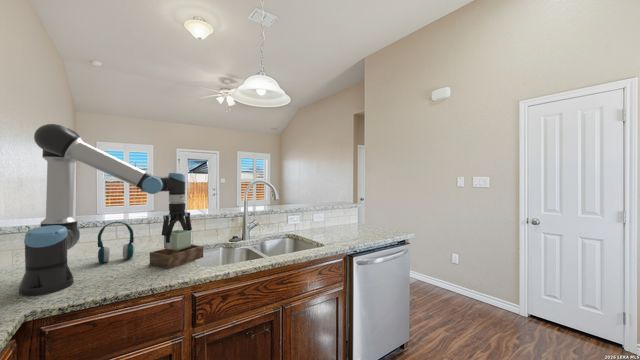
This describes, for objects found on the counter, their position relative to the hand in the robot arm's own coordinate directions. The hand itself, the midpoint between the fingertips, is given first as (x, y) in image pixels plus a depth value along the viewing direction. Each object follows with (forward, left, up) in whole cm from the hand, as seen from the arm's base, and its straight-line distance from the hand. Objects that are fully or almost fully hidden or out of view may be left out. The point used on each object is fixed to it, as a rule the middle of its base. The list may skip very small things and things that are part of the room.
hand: (177, 246), depth 140 cm
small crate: (0, 0, 0) cm, 0 cm away
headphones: (-14, +28, -8) cm, 32 cm away
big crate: (0, 0, -7) cm, 7 cm away
